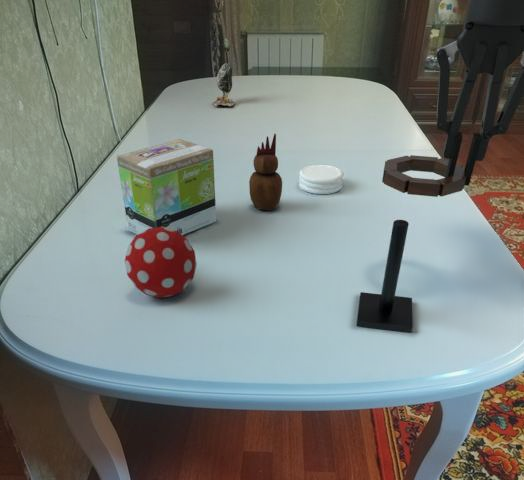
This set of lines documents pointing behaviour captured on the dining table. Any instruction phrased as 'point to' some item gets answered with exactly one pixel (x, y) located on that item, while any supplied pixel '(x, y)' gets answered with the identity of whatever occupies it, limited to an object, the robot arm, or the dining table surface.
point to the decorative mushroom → (160, 262)
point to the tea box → (168, 187)
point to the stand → (388, 291)
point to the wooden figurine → (266, 178)
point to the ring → (419, 185)
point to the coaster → (321, 179)
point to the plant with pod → (225, 80)
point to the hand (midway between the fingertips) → (456, 181)
